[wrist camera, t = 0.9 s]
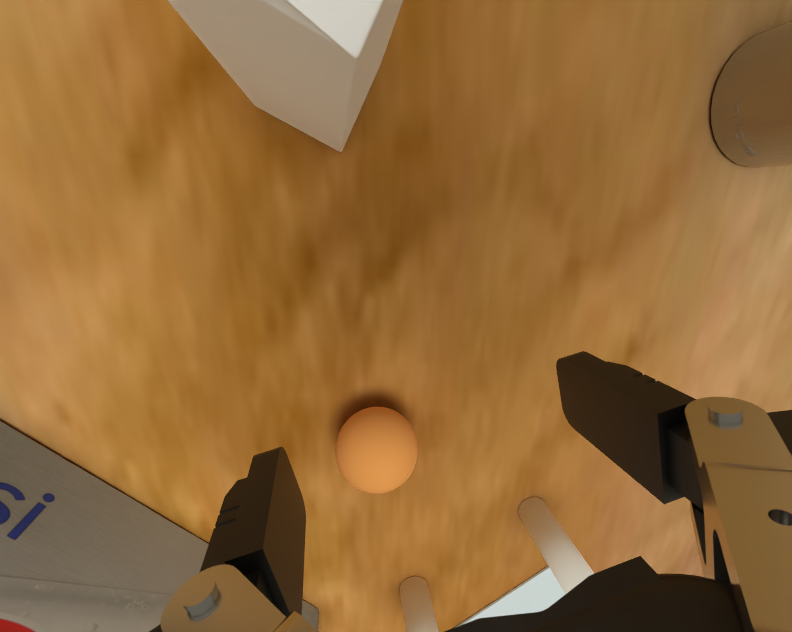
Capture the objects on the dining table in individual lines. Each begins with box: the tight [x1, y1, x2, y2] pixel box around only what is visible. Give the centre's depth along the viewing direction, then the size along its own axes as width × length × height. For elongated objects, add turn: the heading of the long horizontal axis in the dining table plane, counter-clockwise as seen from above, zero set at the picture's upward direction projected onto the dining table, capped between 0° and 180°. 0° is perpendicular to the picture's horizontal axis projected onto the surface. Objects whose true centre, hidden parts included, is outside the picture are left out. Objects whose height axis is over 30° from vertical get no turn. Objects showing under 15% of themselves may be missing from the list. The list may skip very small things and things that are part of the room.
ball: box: [335, 407, 418, 494], centre depth 30 cm, size 6×6×6 cm
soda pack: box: [0, 421, 319, 632], centre depth 25 cm, size 41×13×14 cm, turn 44°
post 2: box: [518, 497, 594, 594], centre depth 33 cm, size 3×3×9 cm
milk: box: [168, 0, 403, 152], centre depth 15 cm, size 6×6×22 cm
